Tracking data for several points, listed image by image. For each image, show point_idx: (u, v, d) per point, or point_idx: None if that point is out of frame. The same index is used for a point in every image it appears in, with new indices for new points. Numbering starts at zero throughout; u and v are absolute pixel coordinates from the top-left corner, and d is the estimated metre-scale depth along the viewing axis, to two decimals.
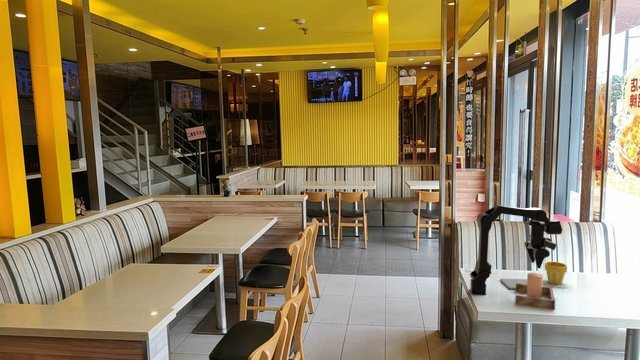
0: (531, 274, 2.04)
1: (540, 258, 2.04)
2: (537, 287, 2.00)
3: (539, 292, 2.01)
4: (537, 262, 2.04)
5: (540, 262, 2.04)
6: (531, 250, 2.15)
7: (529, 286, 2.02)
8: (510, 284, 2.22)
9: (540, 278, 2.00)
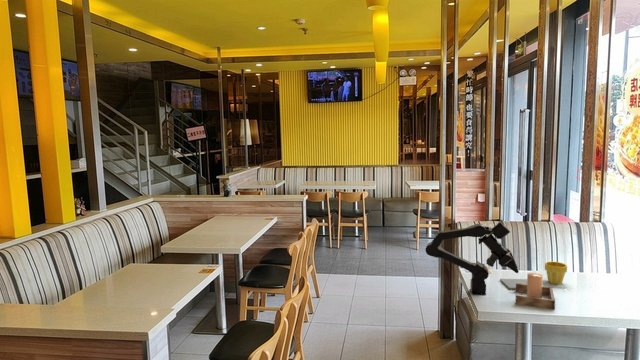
0: (531, 274, 2.04)
1: None
2: (537, 287, 2.00)
3: (539, 292, 2.00)
4: None
5: None
6: None
7: (529, 286, 2.02)
8: (510, 284, 2.22)
9: (540, 278, 2.00)
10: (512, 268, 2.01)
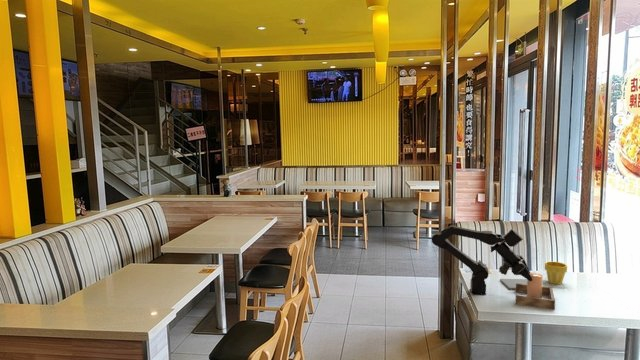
0: (531, 274, 2.04)
1: None
2: (537, 287, 2.00)
3: (539, 292, 2.00)
4: None
5: None
6: None
7: (529, 286, 2.02)
8: (510, 284, 2.22)
9: (540, 278, 2.00)
10: (525, 276, 1.99)
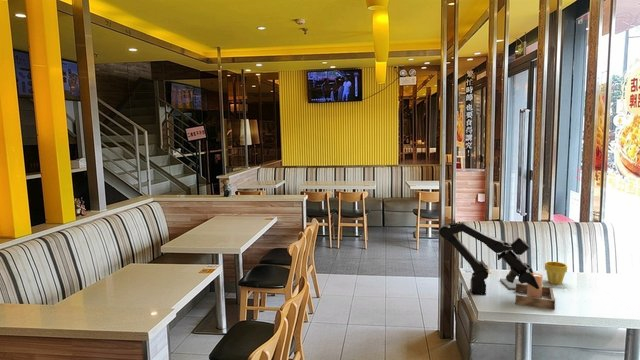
0: None
1: None
2: None
3: (539, 292, 2.00)
4: None
5: None
6: None
7: (529, 286, 2.02)
8: (510, 284, 2.22)
9: (540, 278, 2.00)
10: (532, 284, 1.99)
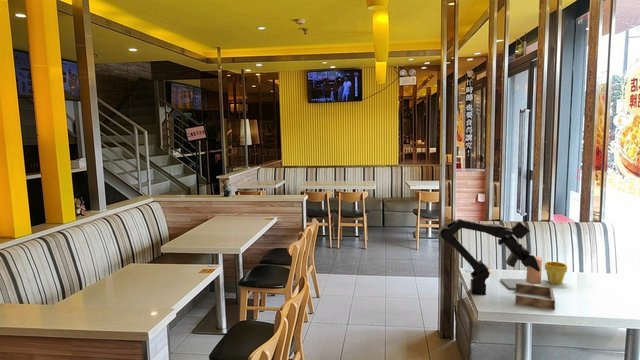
0: None
1: None
2: None
3: (539, 274, 2.05)
4: None
5: None
6: None
7: (530, 269, 2.06)
8: (510, 284, 2.22)
9: (540, 260, 2.04)
10: (534, 267, 2.03)
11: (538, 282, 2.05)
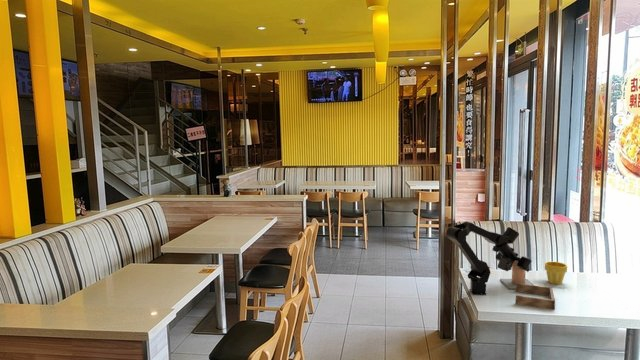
0: None
1: None
2: (525, 271, 2.21)
3: None
4: None
5: None
6: None
7: (518, 272, 2.20)
8: (510, 284, 2.22)
9: None
10: (526, 268, 2.17)
11: (524, 282, 2.22)
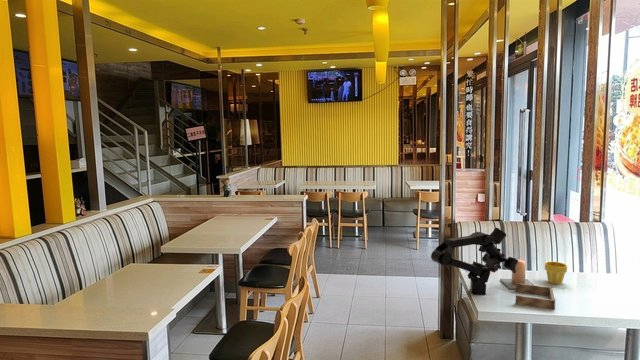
0: None
1: None
2: (524, 271, 2.21)
3: None
4: None
5: None
6: None
7: (518, 272, 2.20)
8: (510, 284, 2.22)
9: None
10: (513, 269, 2.14)
11: (524, 282, 2.22)
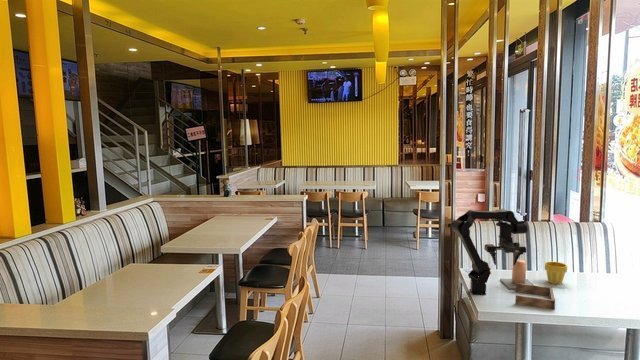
0: (517, 260, 2.22)
1: None
2: (525, 271, 2.21)
3: (525, 275, 2.22)
4: (492, 258, 2.17)
5: (493, 258, 2.15)
6: (514, 252, 2.15)
7: (519, 272, 2.20)
8: (510, 284, 2.22)
9: (526, 262, 2.21)
10: None
11: (524, 282, 2.22)
